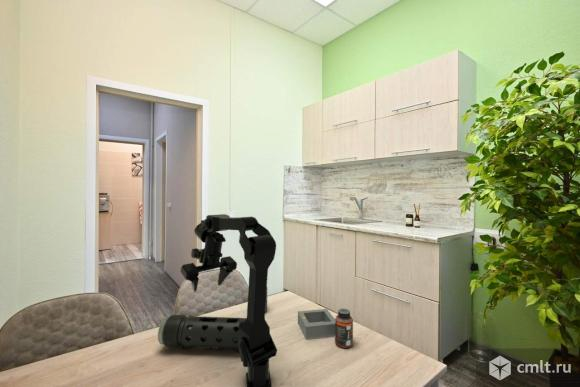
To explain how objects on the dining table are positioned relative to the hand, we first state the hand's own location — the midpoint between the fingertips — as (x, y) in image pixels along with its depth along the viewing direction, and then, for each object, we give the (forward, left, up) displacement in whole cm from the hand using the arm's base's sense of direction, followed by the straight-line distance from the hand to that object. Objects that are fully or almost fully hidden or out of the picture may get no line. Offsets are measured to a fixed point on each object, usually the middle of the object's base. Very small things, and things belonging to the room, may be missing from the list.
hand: (207, 288), depth 96 cm
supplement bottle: (-16, -46, -17) cm, 51 cm away
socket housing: (-5, -40, -17) cm, 44 cm away
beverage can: (+14, -20, -17) cm, 30 cm away
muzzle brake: (-9, 0, -17) cm, 19 cm away
